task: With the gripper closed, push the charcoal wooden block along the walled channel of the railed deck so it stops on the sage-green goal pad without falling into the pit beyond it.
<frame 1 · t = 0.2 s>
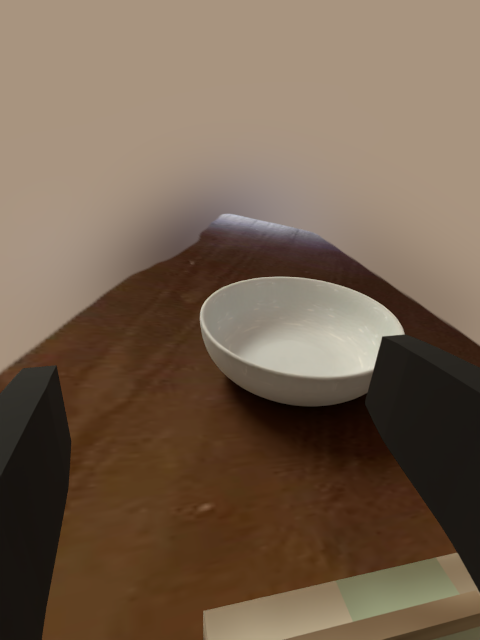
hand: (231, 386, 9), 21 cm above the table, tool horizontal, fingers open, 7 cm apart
serving bowl: (293, 371, 47), on the table
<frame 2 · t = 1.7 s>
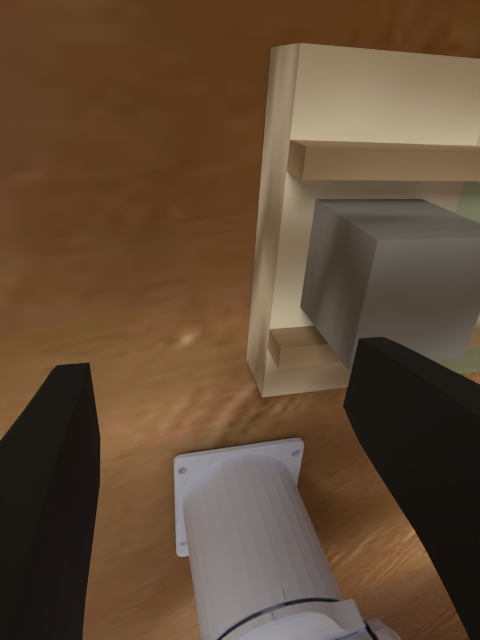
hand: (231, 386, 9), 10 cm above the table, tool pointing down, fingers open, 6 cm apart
charcoal block: (358, 254, 17), point 3 cm above the table, touching railed deck
railed deck: (464, 228, 22), on the table
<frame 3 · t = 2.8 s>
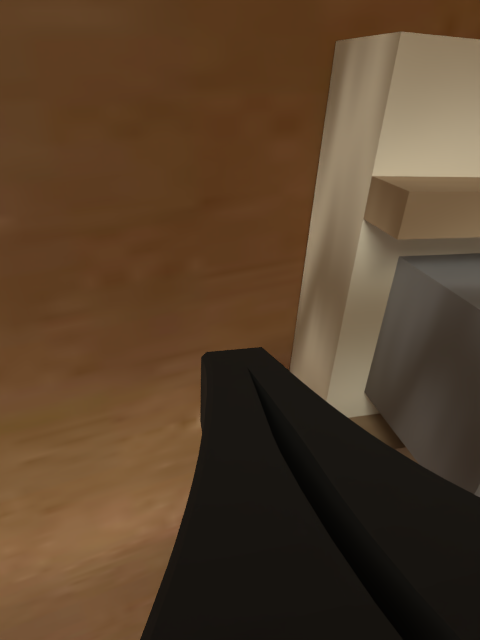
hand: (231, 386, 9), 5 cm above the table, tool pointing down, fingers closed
charcoal block: (447, 324, 13), point 3 cm above the table, touching railed deck
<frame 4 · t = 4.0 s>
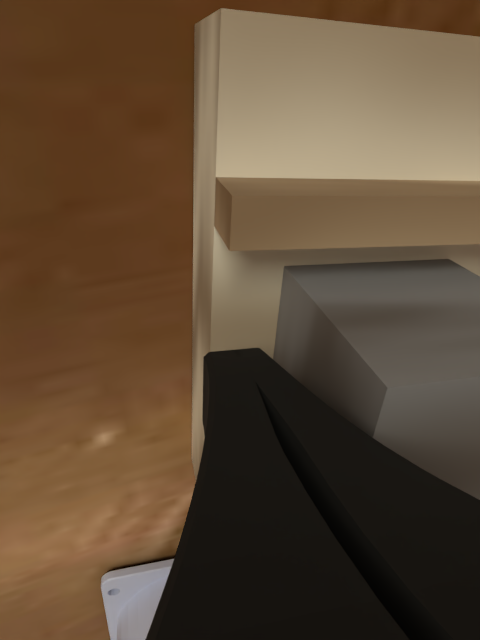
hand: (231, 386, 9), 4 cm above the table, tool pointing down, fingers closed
charcoal block: (353, 339, 11), point 3 cm above the table, touching gripper
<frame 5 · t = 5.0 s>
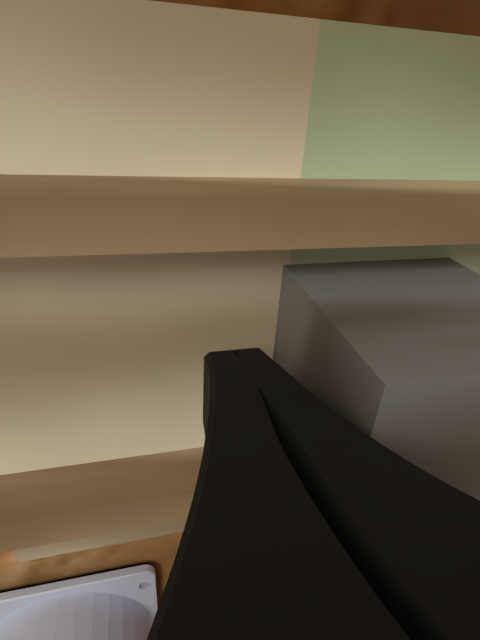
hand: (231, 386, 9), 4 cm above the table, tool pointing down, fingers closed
charcoal block: (353, 338, 11), point 3 cm above the table, touching gripper
railed deck: (348, 290, 14), on the table
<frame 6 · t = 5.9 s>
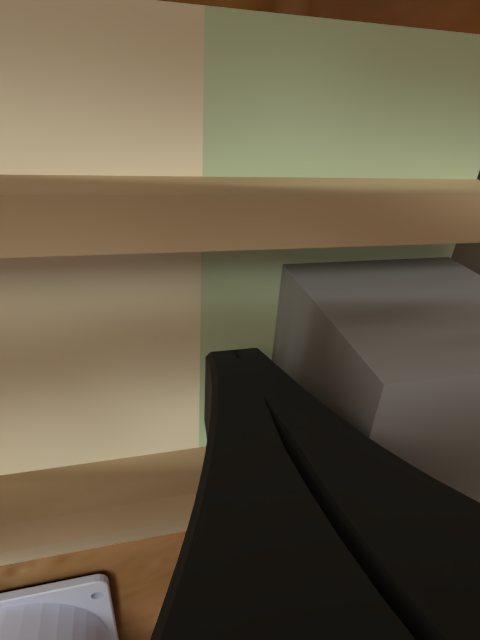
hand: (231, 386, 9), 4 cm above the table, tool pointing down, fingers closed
charcoal block: (352, 338, 11), point 3 cm above the table, touching gripper, railed deck
railed deck: (291, 292, 14), on the table
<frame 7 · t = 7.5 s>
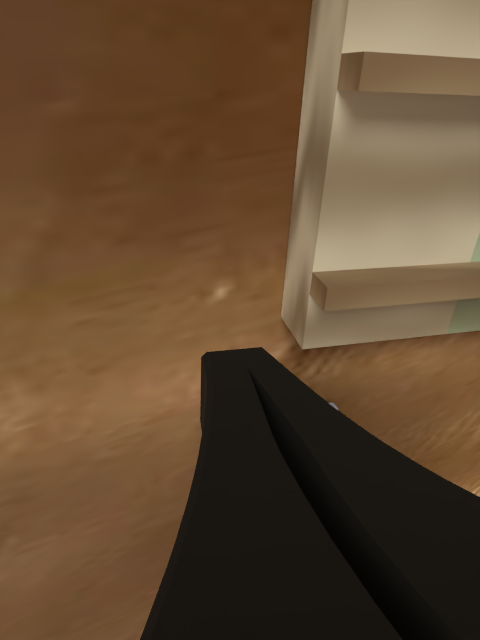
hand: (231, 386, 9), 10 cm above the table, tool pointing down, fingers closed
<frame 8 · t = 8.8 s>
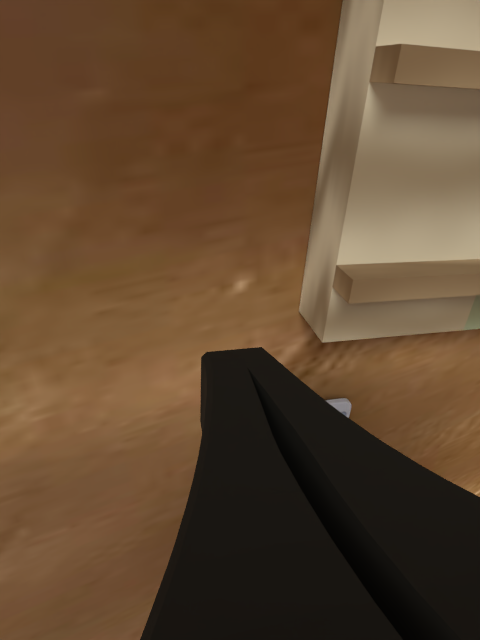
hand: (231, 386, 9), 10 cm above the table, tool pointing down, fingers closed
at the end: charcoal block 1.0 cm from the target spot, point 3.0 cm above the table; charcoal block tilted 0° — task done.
